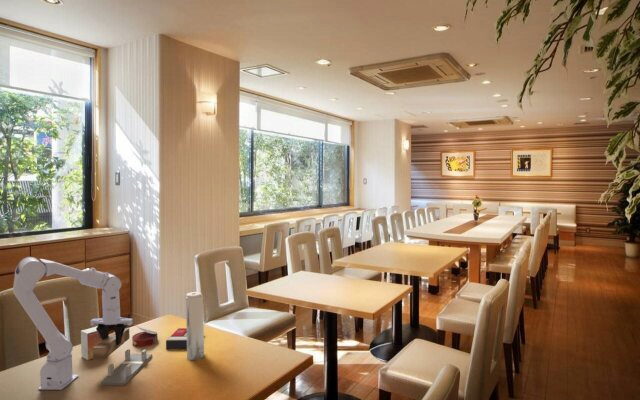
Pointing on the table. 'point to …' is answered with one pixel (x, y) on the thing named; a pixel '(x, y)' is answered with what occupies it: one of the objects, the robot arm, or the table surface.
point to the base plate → (126, 368)
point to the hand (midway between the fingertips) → (112, 344)
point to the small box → (89, 342)
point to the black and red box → (177, 339)
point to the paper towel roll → (194, 326)
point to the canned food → (144, 338)
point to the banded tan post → (109, 345)
